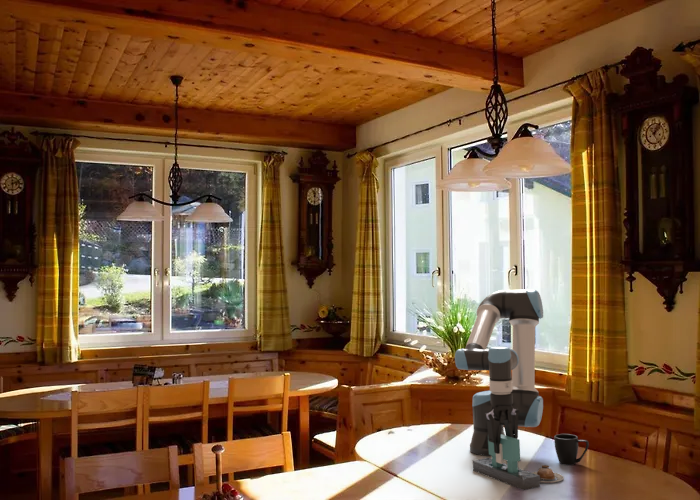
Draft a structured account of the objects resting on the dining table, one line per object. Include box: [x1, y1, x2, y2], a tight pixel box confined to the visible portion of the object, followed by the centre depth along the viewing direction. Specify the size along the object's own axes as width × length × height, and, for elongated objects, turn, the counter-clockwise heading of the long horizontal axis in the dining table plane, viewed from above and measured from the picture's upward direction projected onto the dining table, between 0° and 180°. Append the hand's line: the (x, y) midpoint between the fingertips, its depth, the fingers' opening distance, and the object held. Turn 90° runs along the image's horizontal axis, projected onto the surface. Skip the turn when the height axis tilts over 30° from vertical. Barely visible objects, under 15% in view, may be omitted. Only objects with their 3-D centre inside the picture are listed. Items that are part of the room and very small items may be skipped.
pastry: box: [531, 464, 565, 484], centre depth 219 cm, size 12×12×5 cm
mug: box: [553, 433, 590, 466], centre depth 235 cm, size 8×12×10 cm
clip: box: [488, 434, 521, 473], centre depth 221 cm, size 12×4×12 cm, turn 27°
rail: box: [472, 457, 541, 491], centre depth 221 cm, size 26×7×4 cm, turn 27°
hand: (504, 461), depth 221 cm, fingers closed on clip, 3 cm apart
